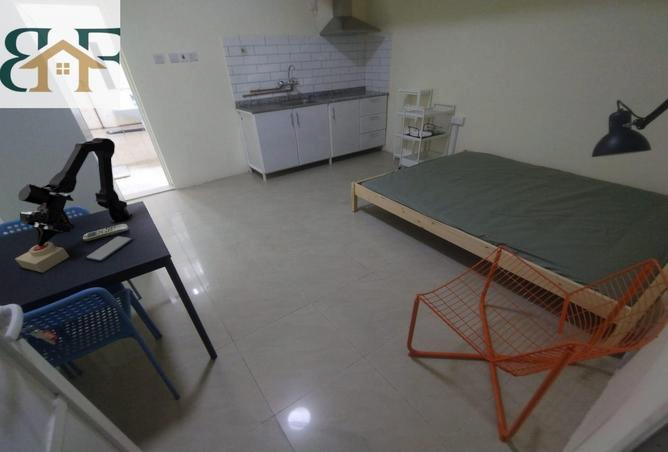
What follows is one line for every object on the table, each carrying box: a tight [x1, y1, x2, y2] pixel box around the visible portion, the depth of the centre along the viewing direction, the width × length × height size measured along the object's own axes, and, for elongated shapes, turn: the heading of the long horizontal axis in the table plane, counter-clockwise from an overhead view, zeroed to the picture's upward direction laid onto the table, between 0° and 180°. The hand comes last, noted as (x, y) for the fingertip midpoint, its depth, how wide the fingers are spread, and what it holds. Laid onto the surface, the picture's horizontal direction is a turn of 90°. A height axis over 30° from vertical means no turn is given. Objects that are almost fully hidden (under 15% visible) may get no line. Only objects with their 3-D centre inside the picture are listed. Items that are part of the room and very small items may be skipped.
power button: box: [33, 244, 48, 251], centre depth 111 cm, size 4×4×2 cm
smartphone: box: [86, 235, 133, 262], centre depth 118 cm, size 8×1×15 cm
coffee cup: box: [36, 203, 73, 233], centre depth 131 cm, size 9×8×13 cm
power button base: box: [14, 241, 70, 274], centre depth 111 cm, size 10×12×6 cm
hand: (39, 245), depth 110 cm, fingers closed, pressing on power button
